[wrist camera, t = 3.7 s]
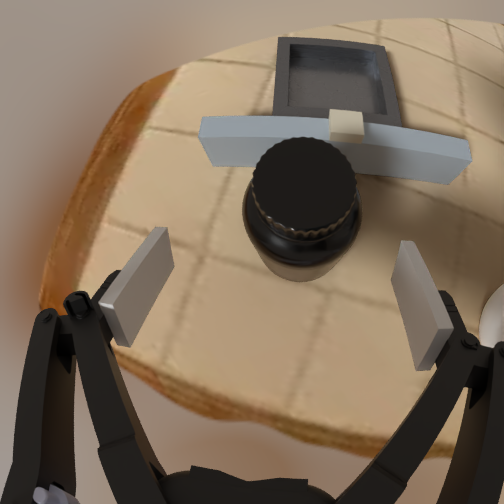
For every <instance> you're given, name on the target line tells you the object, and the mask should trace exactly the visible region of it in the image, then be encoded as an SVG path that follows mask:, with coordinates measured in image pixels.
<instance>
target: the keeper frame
mask: <svg viewBox="0 0 504 504" xmlns="http://www.w3.org/2000/svg"><path fill="white" fill-rule="evenodd" d="M330 109H336V110H347V111H356V112H362V116H363V122H366V123H374V124H382V125H389V126H396V127H402V123H401V117H400V112H399V107H398V102H397V97H396V92H395V87H394V83H393V78H392V74H391V70H390V66H389V62H388V58H387V54H386V51H385V47H384V46H380V45H373V44H366V43H359V42H351V41H342V40H331V39H318V38H299V37H278V48H277V61H276V75H275V88H274V101H273V114H272V116H289V117H310V118H325V119H329V112H330Z"/></svg>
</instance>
